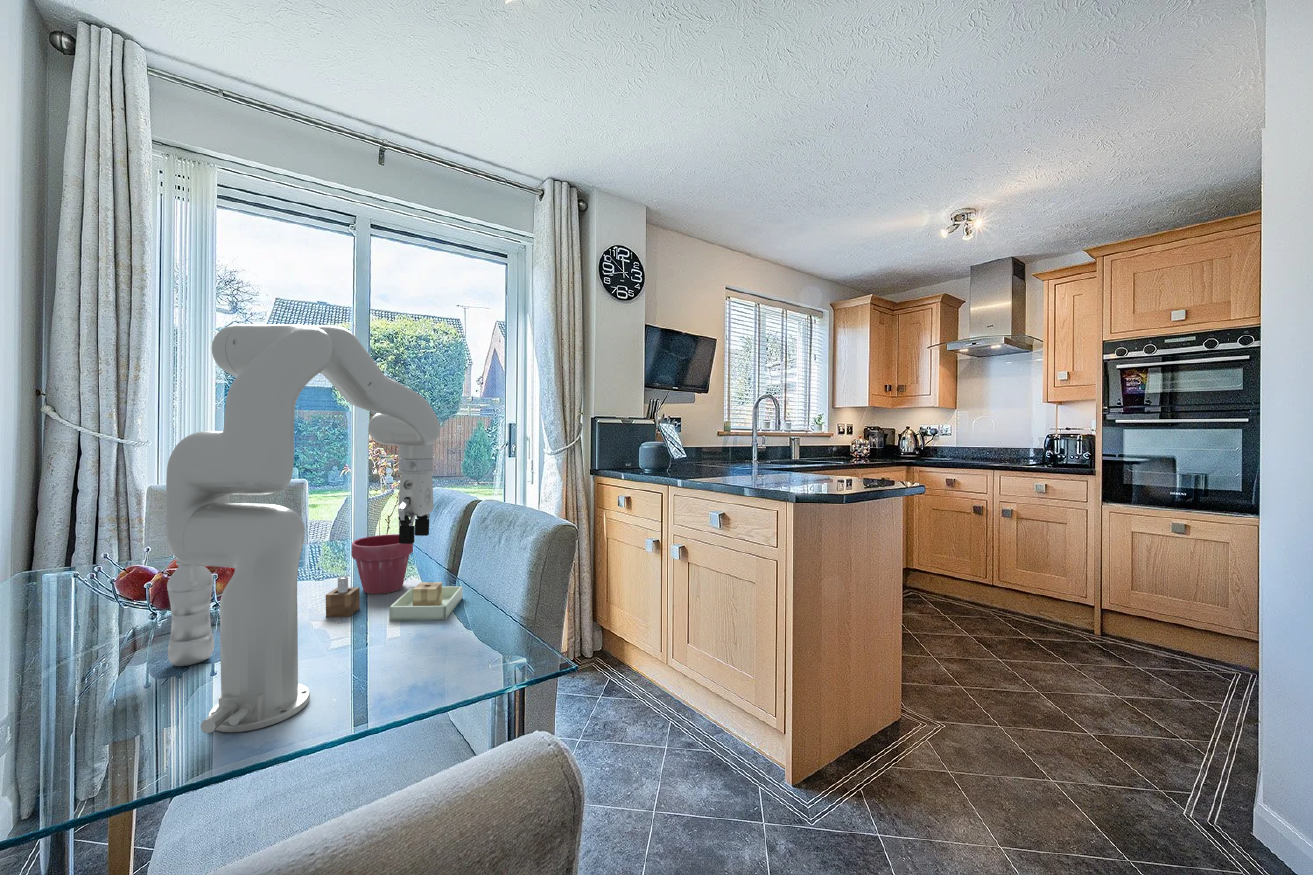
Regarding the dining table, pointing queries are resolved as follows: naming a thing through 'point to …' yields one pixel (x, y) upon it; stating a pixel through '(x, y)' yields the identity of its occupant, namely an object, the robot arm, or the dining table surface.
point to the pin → (343, 585)
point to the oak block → (427, 594)
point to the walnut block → (342, 602)
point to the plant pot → (381, 562)
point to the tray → (407, 611)
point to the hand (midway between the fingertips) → (414, 539)
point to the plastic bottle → (190, 614)
